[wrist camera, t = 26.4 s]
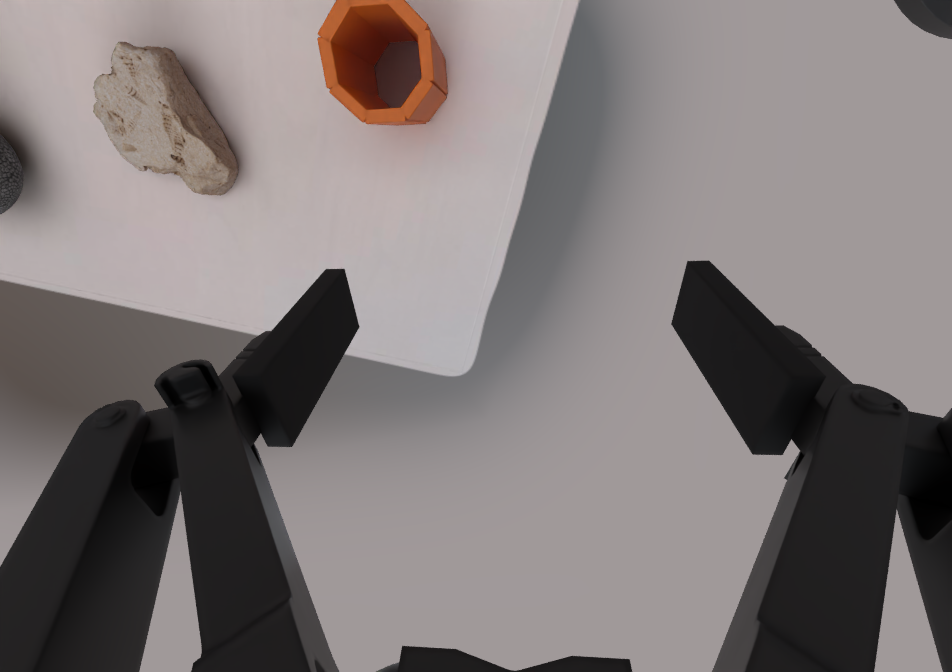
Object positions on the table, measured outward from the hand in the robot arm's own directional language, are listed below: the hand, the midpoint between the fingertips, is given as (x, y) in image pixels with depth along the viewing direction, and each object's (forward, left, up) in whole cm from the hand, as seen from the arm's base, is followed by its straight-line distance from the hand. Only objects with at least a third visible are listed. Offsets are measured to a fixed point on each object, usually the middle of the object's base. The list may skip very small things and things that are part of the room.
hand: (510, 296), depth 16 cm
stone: (+27, -8, -26) cm, 38 cm away
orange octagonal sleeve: (+7, -10, -25) cm, 28 cm away
